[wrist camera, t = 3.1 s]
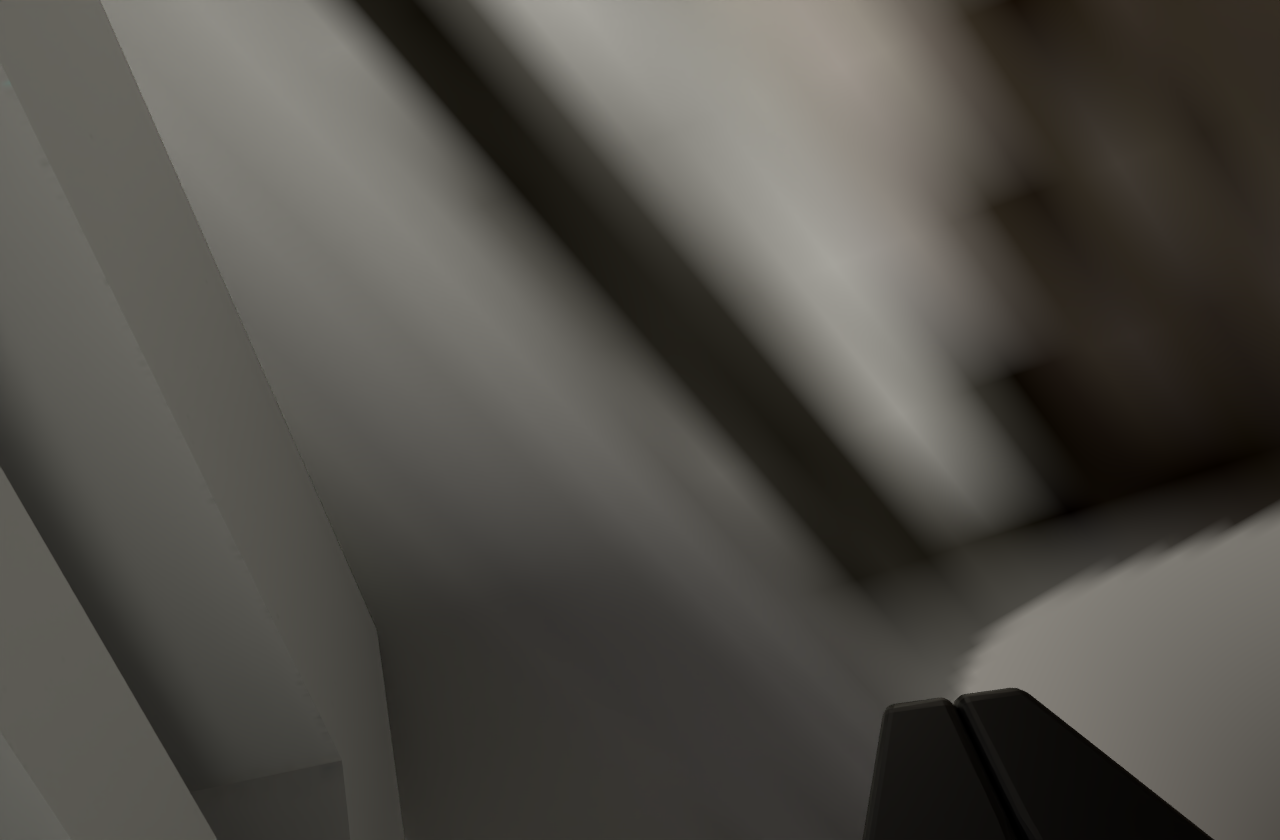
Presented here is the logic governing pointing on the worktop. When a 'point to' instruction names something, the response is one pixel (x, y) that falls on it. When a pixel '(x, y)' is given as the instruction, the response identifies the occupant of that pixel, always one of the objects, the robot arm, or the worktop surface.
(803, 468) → the worktop surface
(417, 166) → the worktop surface
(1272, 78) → the worktop surface
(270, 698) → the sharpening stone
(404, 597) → the worktop surface
